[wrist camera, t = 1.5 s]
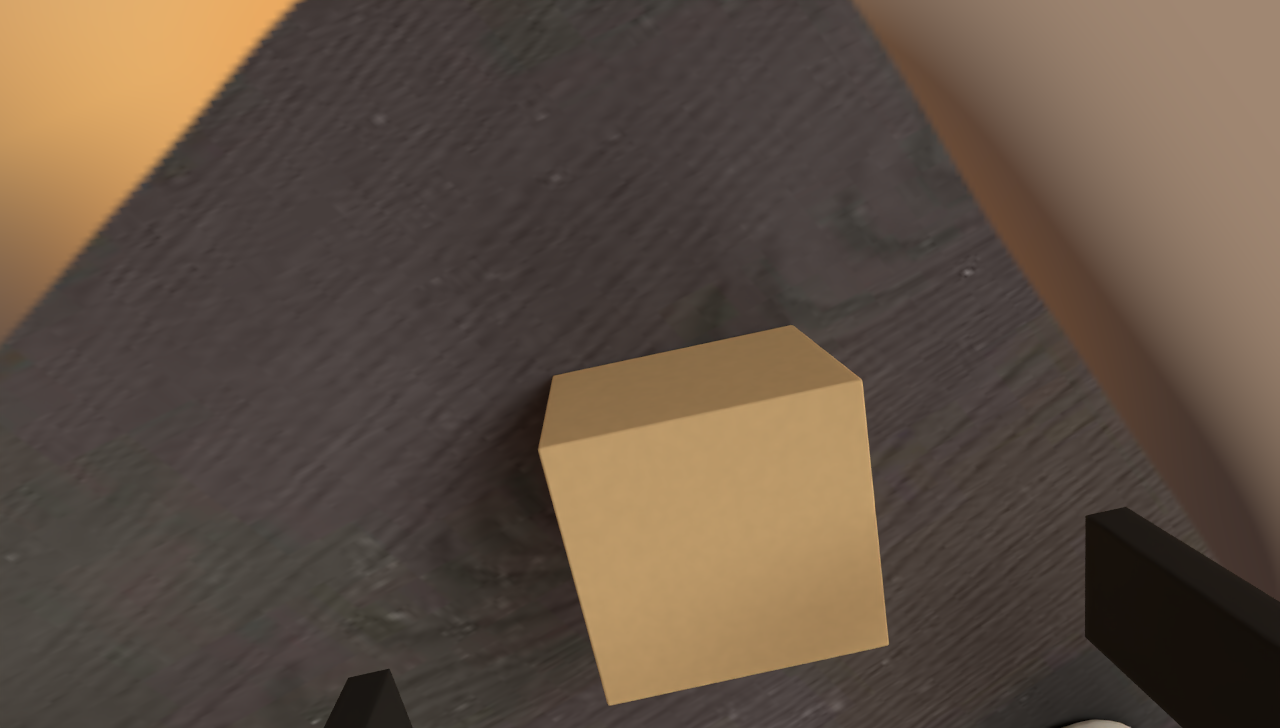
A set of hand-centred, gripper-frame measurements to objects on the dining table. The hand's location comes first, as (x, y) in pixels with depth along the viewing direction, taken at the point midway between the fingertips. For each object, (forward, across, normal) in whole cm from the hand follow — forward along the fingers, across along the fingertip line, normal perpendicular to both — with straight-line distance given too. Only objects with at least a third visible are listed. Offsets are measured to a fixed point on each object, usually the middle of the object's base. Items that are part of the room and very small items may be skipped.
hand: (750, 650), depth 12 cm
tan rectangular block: (+8, 0, 0) cm, 8 cm away
